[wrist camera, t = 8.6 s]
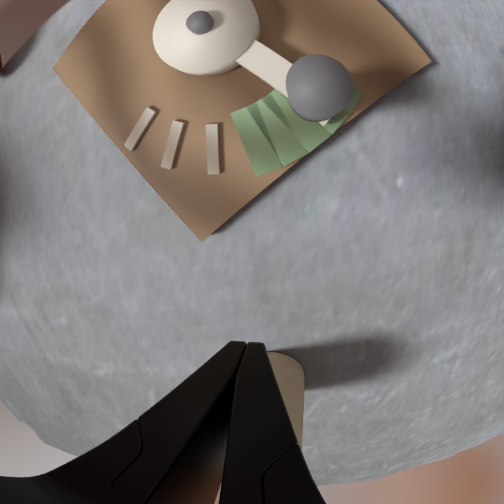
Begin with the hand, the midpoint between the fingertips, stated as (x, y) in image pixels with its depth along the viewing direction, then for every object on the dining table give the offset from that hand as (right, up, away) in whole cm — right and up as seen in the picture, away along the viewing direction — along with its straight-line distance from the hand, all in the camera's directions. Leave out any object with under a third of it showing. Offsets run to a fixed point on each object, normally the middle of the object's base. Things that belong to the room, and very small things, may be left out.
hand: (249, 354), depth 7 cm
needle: (0, +14, +7) cm, 15 cm away
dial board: (-2, +16, +7) cm, 18 cm away
